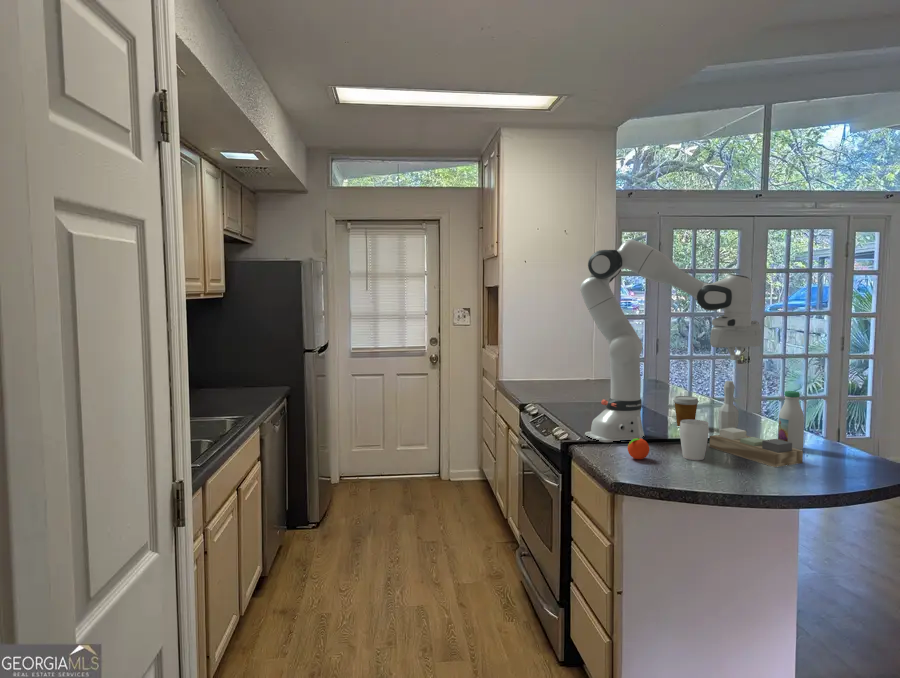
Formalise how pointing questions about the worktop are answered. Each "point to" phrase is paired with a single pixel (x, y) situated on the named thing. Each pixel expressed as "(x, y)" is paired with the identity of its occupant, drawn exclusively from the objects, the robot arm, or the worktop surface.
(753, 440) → the sage green key
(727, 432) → the off-white key
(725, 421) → the faceted bottle
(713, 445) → the oak key console
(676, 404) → the disposable coffee cup
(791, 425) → the milk bottle
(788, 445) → the charcoal key
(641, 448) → the clementine
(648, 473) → the worktop surface
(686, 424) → the cup
